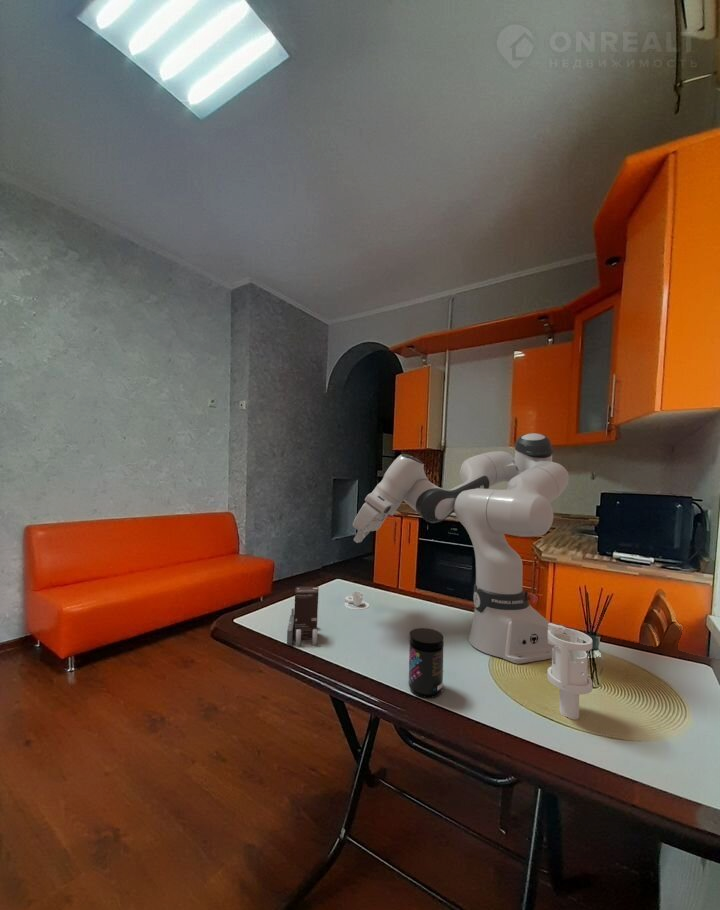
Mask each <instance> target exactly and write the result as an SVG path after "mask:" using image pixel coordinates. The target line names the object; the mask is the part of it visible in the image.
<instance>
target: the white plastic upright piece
mask: <svg viewBox="0 0 720 910" xmlns="http://www.w3.org/2000/svg"><path fill="white" fill-rule="evenodd" d="M564 634H566V636H570V640H569V641H567V640H564V639H560V638H558V637H557V636H556V635H564ZM578 639H579V640H582V641H583V642H584V643H583V642H578ZM548 644H551V645H554V646H555V647H553V648H552V658H551V666H550V667H548V668H547V671H546V672H547V676H546V677H547V680H548V681H549V683H551V684H552V685H554V686H555V687H556V688H557V689H559V712H560V714H561V715H562V716H563V717H565V716H566V717H565V718H567V717H568V718H567V719H569V718H572V719H571V720H579V719H580V695H587V694H590V693H592V692H593V680H592V678H591V677H590V676H589V675H588V653H587V652H589V651H591V650H592V649H593V639H592V637H591V636H590V635H588V634H586V633H584V632H582V631H580V630H577V629H573V628H570V627H569V628H568V627H565V626H564V625H558V624H555V623H552V622H549V624H548Z"/></svg>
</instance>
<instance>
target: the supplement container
mask: <svg viewBox="0 0 720 910" xmlns="http://www.w3.org/2000/svg"><path fill="white" fill-rule="evenodd" d="M444 638H445V637H444V634H442V632H440V631H439V630H435V629H432V628H428V627H418V628H417V627H416V628H414V629H411V630H410V632H409V640H408V641H409V647H408V648H409V651H408V653H409V658H408V687H409V689H410V690H411V692H412V693H413V694H415V695H416V696H418V697H421V698H424V699H425V698H426V699H431V698H436V697H439V696H440V695H441V693H442V691H443V686H444V684H443V683H444V682H443V681H444V647H445V646H444V644H445V641H444Z"/></svg>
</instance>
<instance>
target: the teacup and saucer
mask: <svg viewBox="0 0 720 910" xmlns="http://www.w3.org/2000/svg"><path fill="white" fill-rule="evenodd" d="M344 600H345V602H344V607H346V608H347V609H350V610H356V611H358V610H365V609H368V608H369V607H370V603H368V602H367V601H365V600H364V599H363V592H361V591H353V592H352V595H347V596H345V598H344ZM362 603H363V604H364V603H365V604H364V605H365V606H364V607H361V605H362ZM349 604H353V606H354V607H352V606H349ZM355 607H360V608H355Z"/></svg>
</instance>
